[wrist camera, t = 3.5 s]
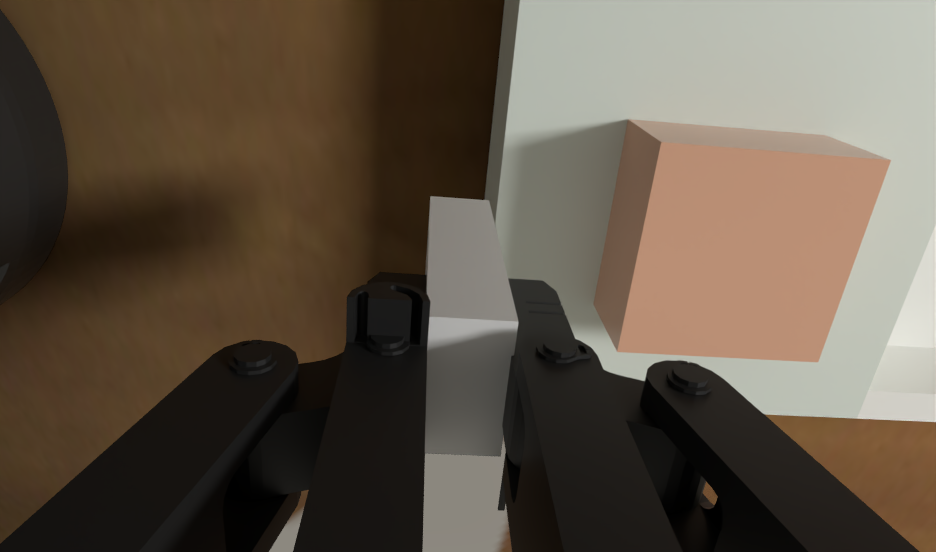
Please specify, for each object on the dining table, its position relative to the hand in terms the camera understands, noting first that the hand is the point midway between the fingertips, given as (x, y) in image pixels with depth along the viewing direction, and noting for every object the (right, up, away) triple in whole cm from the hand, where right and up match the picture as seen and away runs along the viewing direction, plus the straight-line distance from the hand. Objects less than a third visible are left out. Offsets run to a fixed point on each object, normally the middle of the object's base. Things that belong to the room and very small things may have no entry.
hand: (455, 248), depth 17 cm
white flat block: (+8, +3, +7) cm, 11 cm away
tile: (+8, +1, +3) cm, 8 cm away
